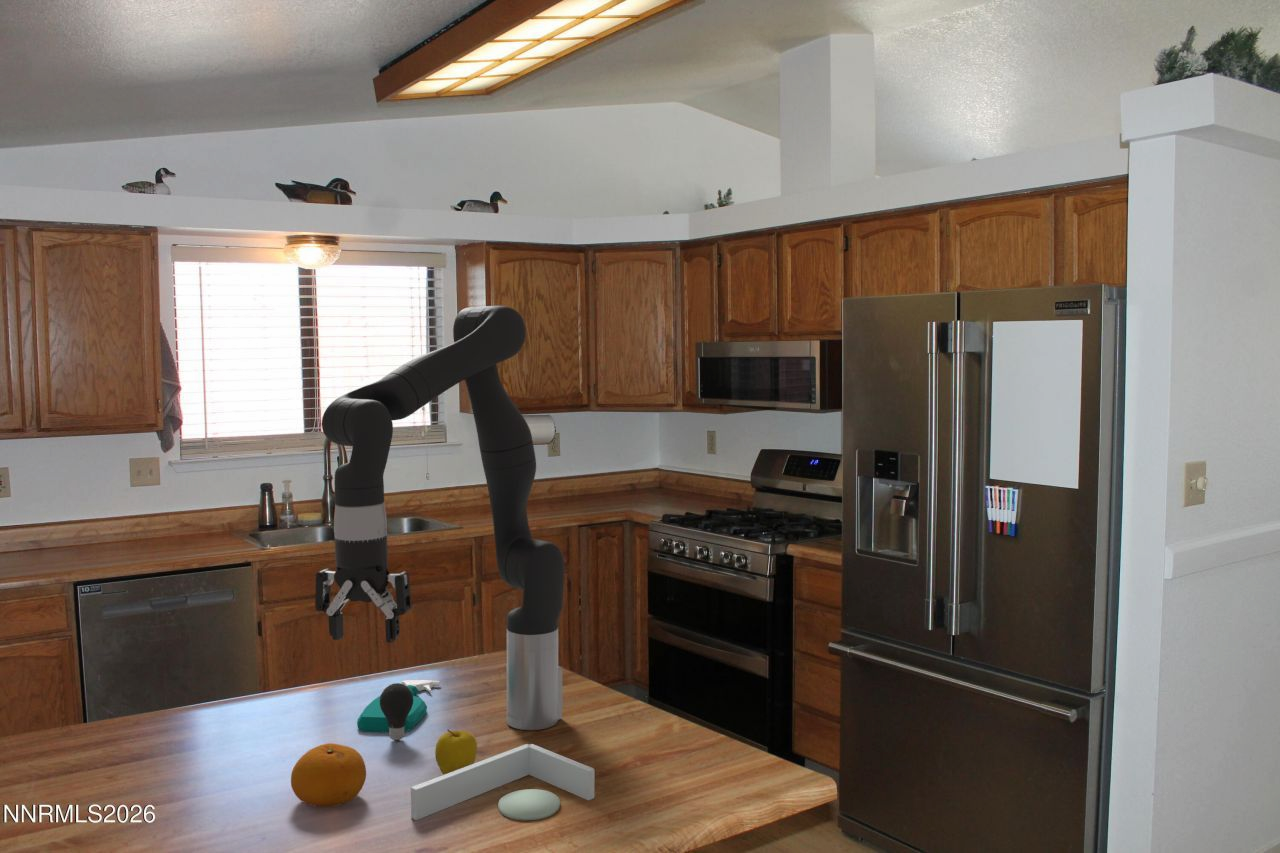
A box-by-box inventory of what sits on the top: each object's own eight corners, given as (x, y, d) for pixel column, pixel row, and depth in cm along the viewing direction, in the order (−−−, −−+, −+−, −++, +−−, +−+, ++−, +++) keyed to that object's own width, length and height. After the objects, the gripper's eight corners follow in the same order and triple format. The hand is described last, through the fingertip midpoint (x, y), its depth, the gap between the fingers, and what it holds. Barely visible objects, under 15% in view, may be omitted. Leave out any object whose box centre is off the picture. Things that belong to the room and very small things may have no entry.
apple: (427, 781, 158) (427, 731, 158) (450, 766, 164) (449, 717, 164) (463, 788, 156) (462, 737, 155) (484, 772, 162) (484, 723, 161)
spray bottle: (351, 733, 179) (393, 688, 203) (413, 735, 178) (447, 690, 202) (351, 717, 178) (393, 674, 203) (413, 719, 178) (447, 675, 202)
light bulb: (405, 748, 171) (404, 690, 170) (374, 745, 172) (373, 688, 171) (419, 736, 177) (418, 680, 176) (388, 733, 178) (388, 677, 177)
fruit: (326, 823, 144) (325, 768, 144) (277, 805, 150) (276, 752, 149) (381, 796, 153) (380, 744, 153) (333, 780, 159) (332, 730, 158)
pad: (531, 787, 157) (531, 783, 156) (572, 805, 151) (572, 801, 150) (485, 806, 150) (485, 802, 150) (526, 826, 144) (526, 822, 144)
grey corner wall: (529, 770, 163) (529, 742, 163) (594, 797, 153) (594, 768, 153) (411, 817, 146) (410, 787, 146) (475, 852, 137) (475, 819, 136)
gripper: (416, 529, 153) (419, 635, 155) (328, 527, 156) (332, 630, 157) (395, 540, 146) (398, 650, 147) (303, 537, 148) (307, 645, 150)
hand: (364, 640), depth 152 cm, fingers open, 8 cm apart
